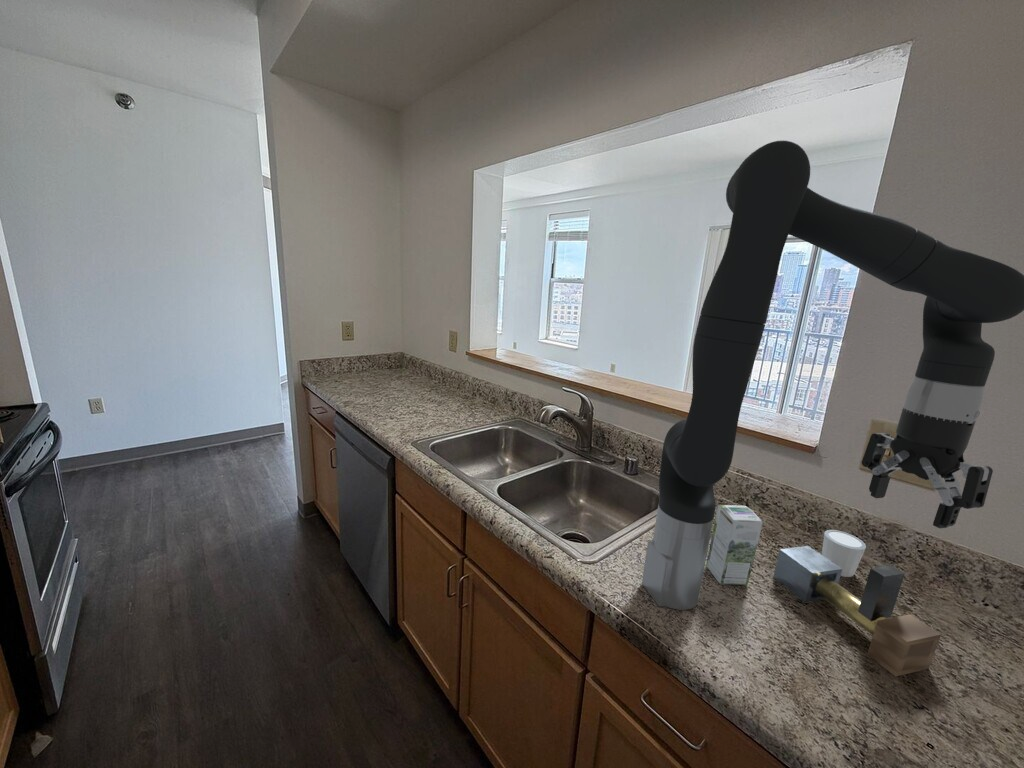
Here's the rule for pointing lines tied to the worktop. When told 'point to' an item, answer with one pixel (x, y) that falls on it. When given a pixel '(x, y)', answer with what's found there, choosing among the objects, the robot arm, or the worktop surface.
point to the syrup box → (733, 544)
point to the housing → (804, 571)
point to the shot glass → (843, 550)
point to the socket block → (903, 644)
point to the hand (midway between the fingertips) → (906, 511)
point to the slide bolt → (866, 596)
